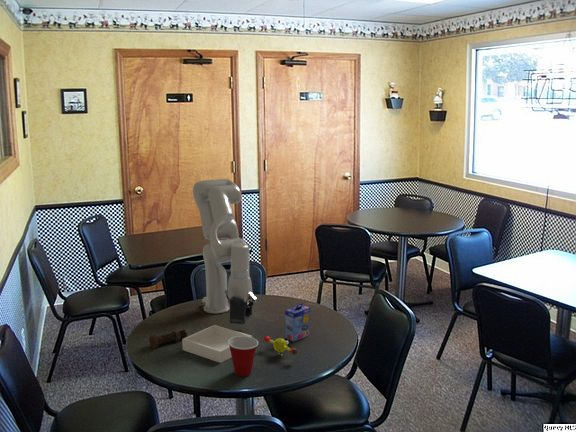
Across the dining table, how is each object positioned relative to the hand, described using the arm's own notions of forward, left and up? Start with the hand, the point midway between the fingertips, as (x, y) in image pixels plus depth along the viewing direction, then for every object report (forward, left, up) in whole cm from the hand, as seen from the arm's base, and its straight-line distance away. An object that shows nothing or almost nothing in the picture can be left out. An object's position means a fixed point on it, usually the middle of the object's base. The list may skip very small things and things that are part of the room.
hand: (240, 313), depth 243 cm
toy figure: (+28, -9, -8) cm, 31 cm away
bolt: (-16, -25, -8) cm, 31 cm away
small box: (0, 0, -3) cm, 3 cm away
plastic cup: (+26, -28, -8) cm, 39 cm away
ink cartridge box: (+23, +9, -8) cm, 26 cm away
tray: (+4, -18, -8) cm, 20 cm away
